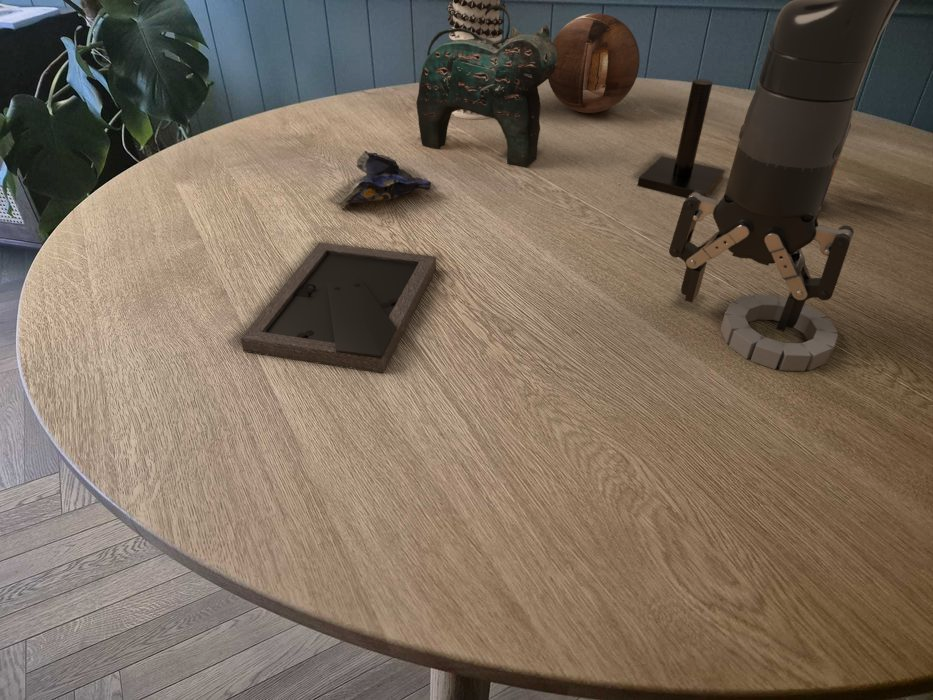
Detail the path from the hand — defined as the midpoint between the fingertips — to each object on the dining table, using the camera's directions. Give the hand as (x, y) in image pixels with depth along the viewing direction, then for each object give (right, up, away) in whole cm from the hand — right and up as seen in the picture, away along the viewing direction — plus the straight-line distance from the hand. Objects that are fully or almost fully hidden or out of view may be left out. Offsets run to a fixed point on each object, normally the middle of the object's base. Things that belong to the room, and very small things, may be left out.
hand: (735, 312), depth 63 cm
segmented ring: (+3, -3, -1) cm, 4 cm away
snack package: (-36, +16, +23) cm, 46 cm away
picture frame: (-37, 0, +3) cm, 38 cm away
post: (+4, +19, +27) cm, 34 cm away
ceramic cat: (-24, +25, +34) cm, 49 cm away
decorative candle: (-24, +37, +50) cm, 67 cm away
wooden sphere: (-5, +37, +50) cm, 63 cm away
